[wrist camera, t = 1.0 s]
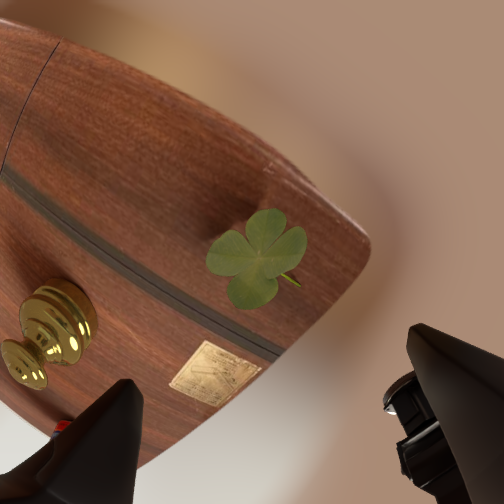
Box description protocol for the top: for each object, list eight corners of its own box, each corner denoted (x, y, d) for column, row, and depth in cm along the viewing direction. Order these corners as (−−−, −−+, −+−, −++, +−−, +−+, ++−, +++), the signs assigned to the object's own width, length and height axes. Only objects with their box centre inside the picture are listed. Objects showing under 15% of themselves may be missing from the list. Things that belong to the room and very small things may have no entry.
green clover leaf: (265, 243, 26) (219, 208, 21) (347, 243, 21) (315, 197, 16) (245, 319, 24) (190, 299, 19) (332, 334, 19) (291, 317, 14)
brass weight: (65, 343, 24) (23, 406, 15) (31, 285, 22) (-27, 339, 12) (112, 334, 24) (70, 411, 14) (75, 267, 21) (8, 330, 12)
